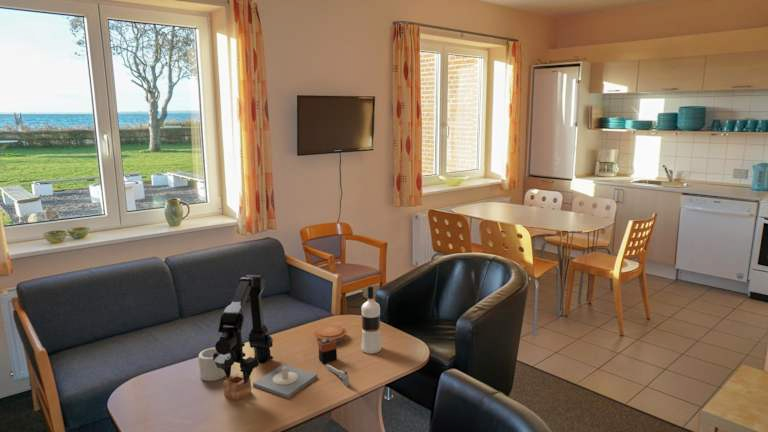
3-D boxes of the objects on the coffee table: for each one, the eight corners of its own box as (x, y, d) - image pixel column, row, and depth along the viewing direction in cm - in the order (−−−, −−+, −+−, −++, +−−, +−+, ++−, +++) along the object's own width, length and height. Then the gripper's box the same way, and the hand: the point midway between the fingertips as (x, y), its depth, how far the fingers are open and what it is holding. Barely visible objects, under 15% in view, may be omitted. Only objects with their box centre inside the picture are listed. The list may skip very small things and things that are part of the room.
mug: (232, 374, 215) (230, 352, 213) (208, 384, 208) (206, 361, 206) (215, 364, 225) (214, 342, 222) (192, 373, 217) (190, 351, 215)
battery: (318, 360, 227) (317, 339, 225) (333, 356, 230) (332, 335, 228) (322, 364, 223) (322, 342, 221) (337, 360, 226) (336, 339, 224)
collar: (224, 395, 199) (223, 381, 198) (238, 387, 205) (237, 373, 204) (237, 400, 196) (236, 386, 195) (251, 392, 202) (250, 377, 201)
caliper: (349, 387, 205) (348, 372, 204) (346, 388, 205) (346, 373, 203) (327, 365, 222) (326, 352, 221) (324, 366, 222) (324, 352, 220)
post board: (253, 386, 206) (252, 372, 205) (283, 367, 221) (282, 353, 220) (288, 398, 197) (287, 384, 196) (317, 377, 212) (316, 364, 211)
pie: (338, 348, 238) (337, 338, 237) (308, 343, 243) (307, 333, 242) (352, 335, 252) (351, 325, 251) (323, 330, 257) (322, 321, 256)
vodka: (367, 356, 230) (365, 291, 224) (357, 348, 238) (356, 285, 232) (385, 351, 234) (384, 287, 228) (375, 343, 242) (374, 282, 236)
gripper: (200, 345, 194) (203, 383, 197) (236, 356, 185) (239, 396, 188) (223, 334, 204) (225, 370, 207) (258, 344, 194) (260, 382, 197)
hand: (237, 380), depth 200 cm, fingers open, 9 cm apart
